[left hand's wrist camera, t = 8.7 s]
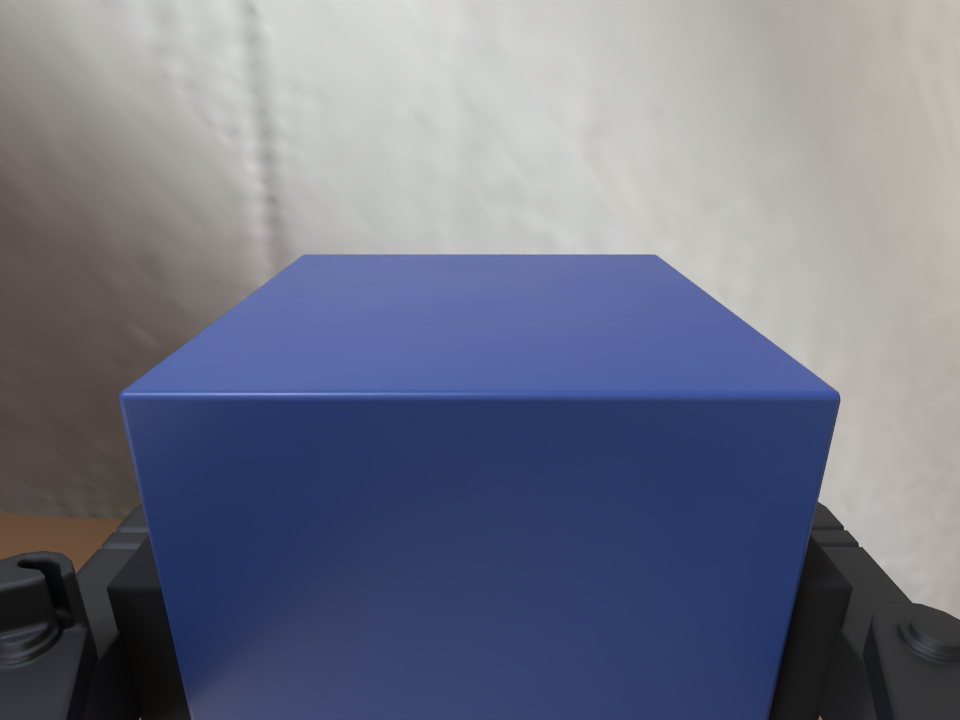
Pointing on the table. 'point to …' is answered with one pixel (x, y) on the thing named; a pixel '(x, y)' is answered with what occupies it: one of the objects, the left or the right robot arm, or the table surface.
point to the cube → (479, 493)
